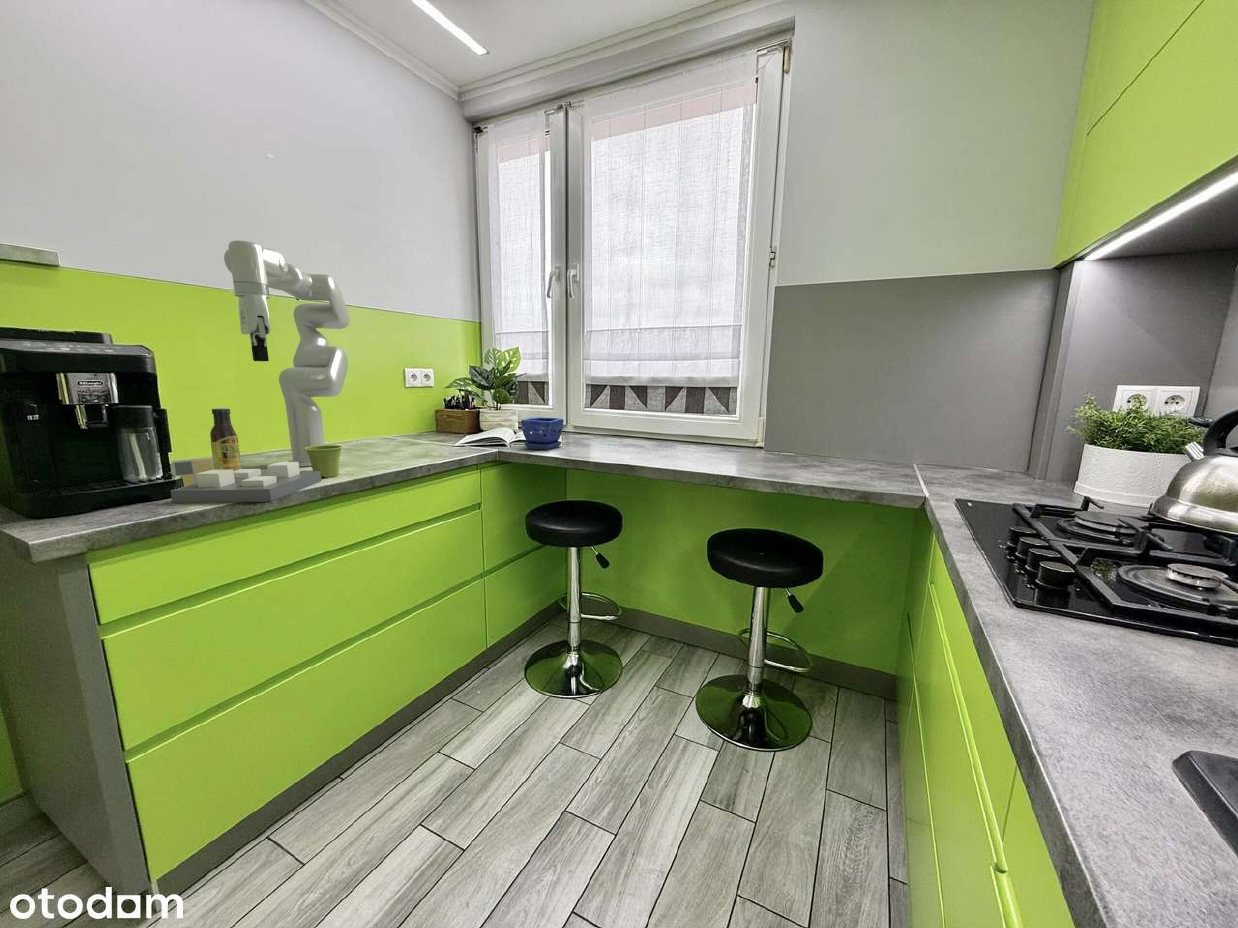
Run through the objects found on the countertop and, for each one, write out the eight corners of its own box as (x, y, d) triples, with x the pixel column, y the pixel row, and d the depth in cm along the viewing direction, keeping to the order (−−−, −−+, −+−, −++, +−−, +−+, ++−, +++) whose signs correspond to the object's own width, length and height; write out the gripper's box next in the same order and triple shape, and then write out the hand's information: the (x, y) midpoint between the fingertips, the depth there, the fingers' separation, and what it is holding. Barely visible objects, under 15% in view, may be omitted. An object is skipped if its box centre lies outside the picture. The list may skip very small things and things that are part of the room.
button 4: (281, 476, 131) (279, 462, 130) (300, 476, 131) (298, 461, 130) (269, 480, 126) (267, 465, 125) (289, 480, 126) (287, 465, 126)
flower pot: (565, 446, 201) (564, 418, 199) (549, 451, 189) (549, 420, 186) (537, 444, 206) (536, 416, 203) (520, 449, 193) (519, 419, 191)
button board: (238, 482, 134) (237, 471, 133) (321, 481, 135) (320, 470, 135) (172, 503, 112) (170, 490, 112) (271, 501, 114) (269, 489, 113)
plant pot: (332, 471, 148) (329, 444, 147) (352, 474, 144) (349, 446, 142) (301, 477, 140) (297, 448, 138) (321, 480, 136) (317, 450, 134)
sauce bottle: (227, 479, 137) (216, 409, 134) (209, 478, 138) (198, 409, 135) (248, 474, 144) (239, 407, 140) (231, 473, 145) (221, 407, 141)
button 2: (243, 483, 130) (241, 469, 130) (262, 483, 131) (260, 468, 130) (229, 487, 126) (227, 472, 125) (250, 487, 126) (247, 472, 125)
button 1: (214, 485, 120) (211, 469, 120) (235, 485, 121) (233, 469, 120) (198, 490, 115) (196, 473, 115) (220, 489, 116) (218, 473, 115)
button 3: (257, 491, 121) (255, 476, 121) (278, 491, 122) (276, 476, 121) (243, 496, 116) (241, 480, 116) (265, 496, 117) (263, 480, 116)
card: (176, 491, 123) (171, 460, 122) (216, 486, 128) (212, 457, 127) (176, 492, 123) (171, 461, 121) (217, 487, 128) (212, 457, 126)
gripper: (227, 292, 132) (237, 361, 135) (241, 286, 122) (251, 360, 125) (261, 296, 137) (269, 361, 141) (276, 290, 128) (285, 361, 131)
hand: (261, 361), depth 133 cm, fingers closed
